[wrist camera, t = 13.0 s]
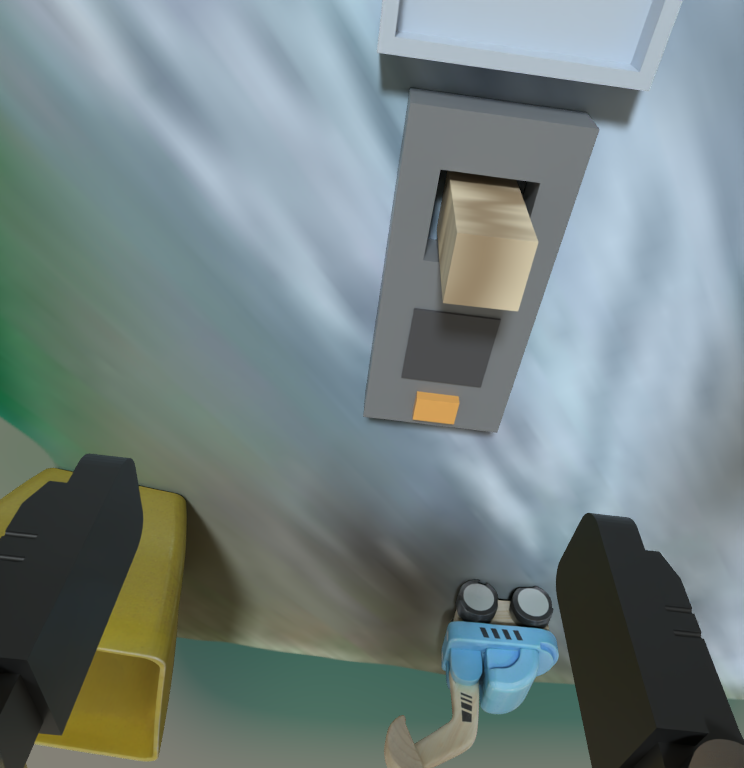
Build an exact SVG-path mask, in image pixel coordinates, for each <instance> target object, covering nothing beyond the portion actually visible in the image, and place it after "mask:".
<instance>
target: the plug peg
mask: <svg viewBox="0 0 744 768" xmlns="http://www.w3.org/2000/svg"><path fill="white" fill-rule="evenodd" d="M437 237H438V249H439V262H440V274H441V286H442V299H443V303H447V304H456V305H464V306H473V307H482V308H491V309H500V310H509V311H518V310H519V307H520V303H521V300H522V297H523V293H524V290H525V286H526V283H527V280H528V276H529V273H530V270H531V266H532V263H533V259H534V256H535V253H536V249H537V246H538V239H537V236H536V234H535V231H534V228H533V225H532V222H531V220H530V217H529V214H528V211H527V208H526V205H525V203H524V200H523V197H522V194H521V191H520V189H519V186H518V183H517V180H514V179H507V178H500V177H492V176H485V175H478V174H470V173H463V172H456V171H448V170H447V175H446V180H445V186H444V191H443V197H442V202H441V208H440V213H439V219H438V224H437Z"/></svg>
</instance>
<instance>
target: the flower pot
mask: <svg viewBox="0 0 744 768" xmlns="http://www.w3.org/2000/svg"><path fill="white" fill-rule="evenodd" d="M72 473H73V472H70V471H66V470H61V469H57V468H48V469H46V470H44V471H42V472H41V473H39V474H37V475H36V476H34V477H32V478H31V479H29V480H28V481H26V482H25V483H23V484H22V485H20V486H19V487H17V488H16V489H15V490H13V491H12V492H11V493H9V494H7V495H6V496H5V497H3V498H2V499H0V538H1V536H4V535H5V530H6V528H7V527H8V525H9V524H10V522H11V520H12V519H13V517H14V515H15V514H16V512H17V511H18V509H19V507H20V506H21V504H22V503H23V502H24V501H25V500H26V499H28V498H29V497H30V496H31V495H33V494H34V493H35V492H36V491H37V490H39V489H40V488H41V487H42V486H43V485H45V484H46V483H47V482H48V481H57V482H65V483H67V482H68V480H69V479H70V477H71V475H72ZM139 491H140V497H141V503H142V509H143V529H142V535H141V539H140V543H139V546H138V549H137V551H136V554H135V556H134V559H133V561H132V564H131V566H130V568H129V571H128V573H127V576H126V578H125V581H124V583H123V586H122V588H121V591H120V593H119V596H118V598H117V601H116V603H115V606H114V608H113V610H112V613H111V615H110V618H109V620H108V623H107V625H106V628H105V630H104V633H103V635H102V638H101V640H100V643H99V645H98V648H97V650H96V652H95V655H94V657H93V660H92V662H91V665H90V667H89V670H88V672H87V675H86V677H85V680H84V682H83V685H82V687H81V690H80V692H79V694H78V697H77V699H76V702H75V704H74V707H73V709H72V712H71V714H70V717H69V719H68V722H67V724H66V727H65V729H64V732H63V734H62V736H61V735H50V734H40V733H38V736H37V738H36V740H35V743H34V744H37V745H43V746H49V747H55V748H61V749H68V750H74V751H81V752H86V753H93V754H100V755H106V756H112V757H119V758H125V759H132V760H138V761H154V760H157V759H158V756H159V751H160V746H161V742H162V736H163V730H164V725H165V719H166V713H167V706H168V701H169V694H170V687H171V680H172V673H173V665H174V656H175V646H176V636H177V623H178V609H179V602H180V595H181V587H182V580H183V571H184V561H185V550H186V527H187V514H186V501H185V499H184V498H183V497H181V496H180V495H178V494H175V493H171V492H166V491H161V490H156V489H152V488H147V487H142V486H139Z"/></svg>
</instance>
